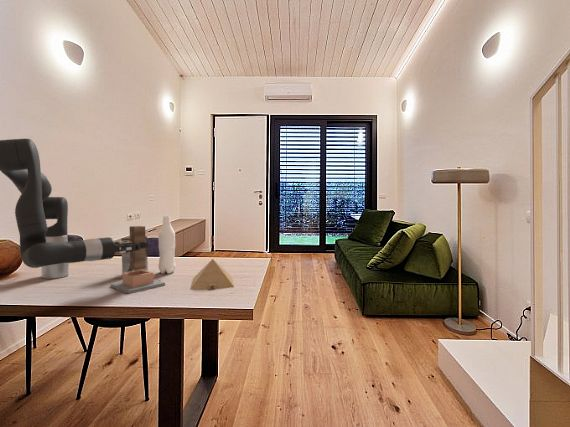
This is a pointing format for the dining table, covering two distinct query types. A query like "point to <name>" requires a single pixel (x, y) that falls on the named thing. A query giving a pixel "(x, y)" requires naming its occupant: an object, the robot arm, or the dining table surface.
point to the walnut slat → (139, 256)
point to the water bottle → (166, 247)
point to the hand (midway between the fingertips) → (144, 244)
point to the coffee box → (127, 258)
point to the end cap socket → (137, 281)
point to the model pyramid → (212, 277)
